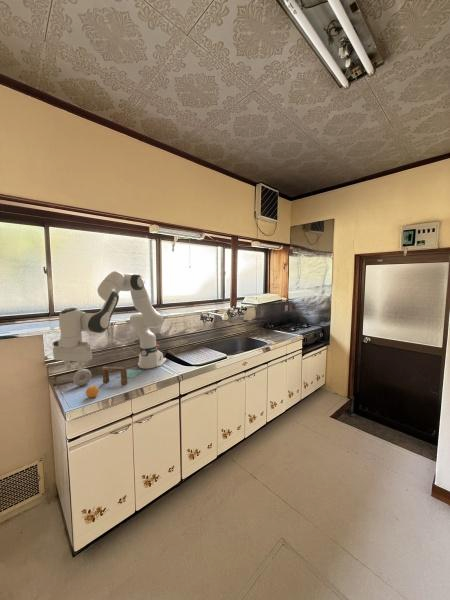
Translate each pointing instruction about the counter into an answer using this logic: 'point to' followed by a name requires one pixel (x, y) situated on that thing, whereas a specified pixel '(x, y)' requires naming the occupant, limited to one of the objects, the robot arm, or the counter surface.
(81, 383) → the donut
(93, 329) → the robot arm
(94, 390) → the ball
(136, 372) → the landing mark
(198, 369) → the counter surface
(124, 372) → the bridge
